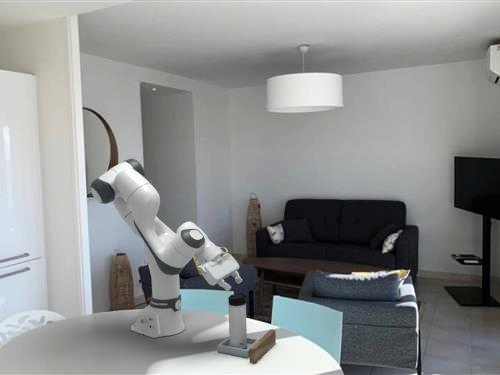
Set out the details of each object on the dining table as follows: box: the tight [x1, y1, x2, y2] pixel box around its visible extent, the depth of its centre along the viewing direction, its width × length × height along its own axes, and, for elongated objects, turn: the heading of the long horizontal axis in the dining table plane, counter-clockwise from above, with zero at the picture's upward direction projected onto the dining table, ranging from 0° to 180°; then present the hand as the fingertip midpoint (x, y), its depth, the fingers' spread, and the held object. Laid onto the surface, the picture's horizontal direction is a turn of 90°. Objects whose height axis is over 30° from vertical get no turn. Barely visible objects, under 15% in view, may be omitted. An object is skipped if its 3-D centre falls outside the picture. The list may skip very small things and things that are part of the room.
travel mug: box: [227, 292, 248, 350], centre depth 160 cm, size 6×7×20 cm
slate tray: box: [217, 336, 260, 359], centre depth 161 cm, size 12×11×3 cm
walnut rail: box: [249, 329, 277, 365], centre depth 158 cm, size 2×18×5 cm, turn 154°
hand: (235, 285), depth 162 cm, fingers open, 8 cm apart
